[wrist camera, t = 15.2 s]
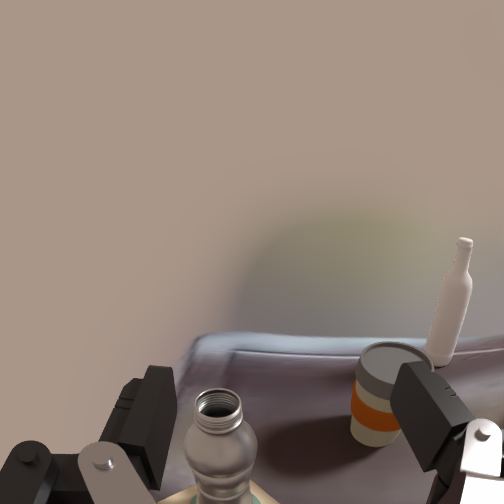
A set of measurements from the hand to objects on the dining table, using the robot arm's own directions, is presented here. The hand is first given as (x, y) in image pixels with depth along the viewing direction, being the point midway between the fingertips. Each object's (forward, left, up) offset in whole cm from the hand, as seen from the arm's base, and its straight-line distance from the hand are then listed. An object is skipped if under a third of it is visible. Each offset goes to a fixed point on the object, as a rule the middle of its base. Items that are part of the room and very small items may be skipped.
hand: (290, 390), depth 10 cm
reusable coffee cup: (-34, -7, -34) cm, 49 cm away
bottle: (-65, -6, -34) cm, 73 cm away
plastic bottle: (-4, -9, -30) cm, 32 cm away
